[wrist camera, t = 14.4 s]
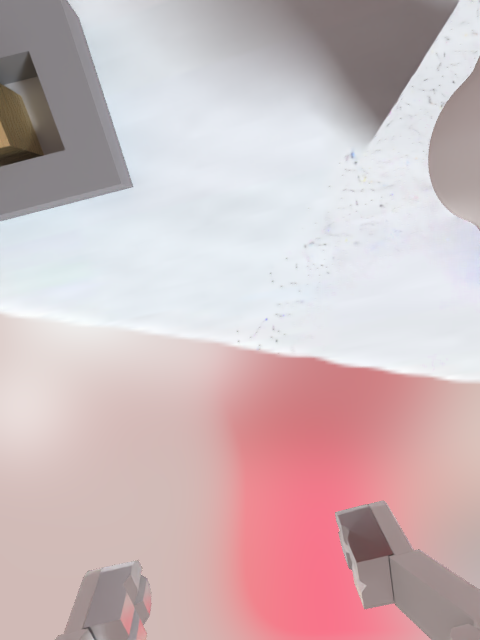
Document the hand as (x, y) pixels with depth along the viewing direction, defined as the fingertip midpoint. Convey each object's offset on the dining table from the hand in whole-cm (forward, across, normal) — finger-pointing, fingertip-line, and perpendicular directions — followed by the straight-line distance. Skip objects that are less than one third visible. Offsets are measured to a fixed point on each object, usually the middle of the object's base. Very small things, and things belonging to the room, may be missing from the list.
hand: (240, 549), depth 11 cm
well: (+30, +15, -20) cm, 39 cm away
